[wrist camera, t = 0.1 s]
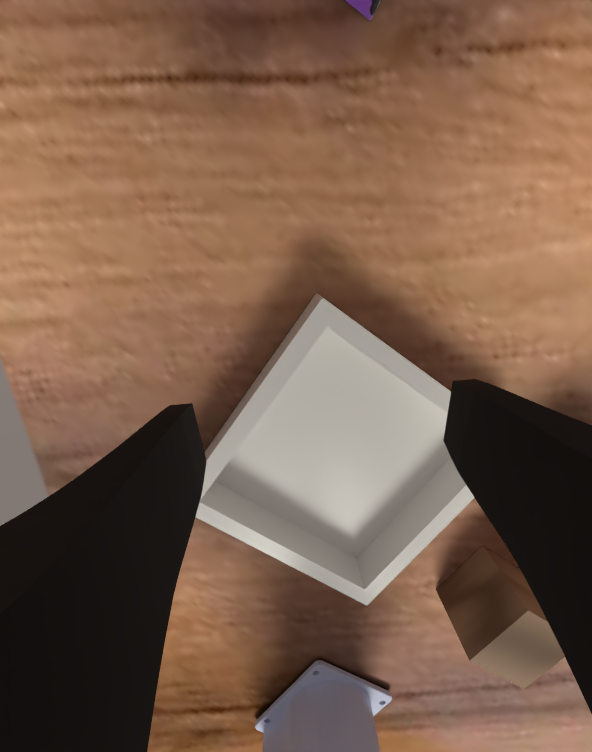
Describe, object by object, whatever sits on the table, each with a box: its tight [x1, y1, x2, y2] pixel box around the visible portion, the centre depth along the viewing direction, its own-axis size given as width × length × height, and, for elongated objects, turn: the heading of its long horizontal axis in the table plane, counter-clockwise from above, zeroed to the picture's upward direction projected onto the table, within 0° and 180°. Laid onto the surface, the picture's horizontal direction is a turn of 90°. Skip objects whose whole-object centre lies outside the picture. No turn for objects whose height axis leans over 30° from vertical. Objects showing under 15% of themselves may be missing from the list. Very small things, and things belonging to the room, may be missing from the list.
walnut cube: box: [436, 546, 565, 689], centre depth 24 cm, size 5×5×5 cm
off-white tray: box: [195, 293, 475, 605], centre depth 20 cm, size 14×14×3 cm
